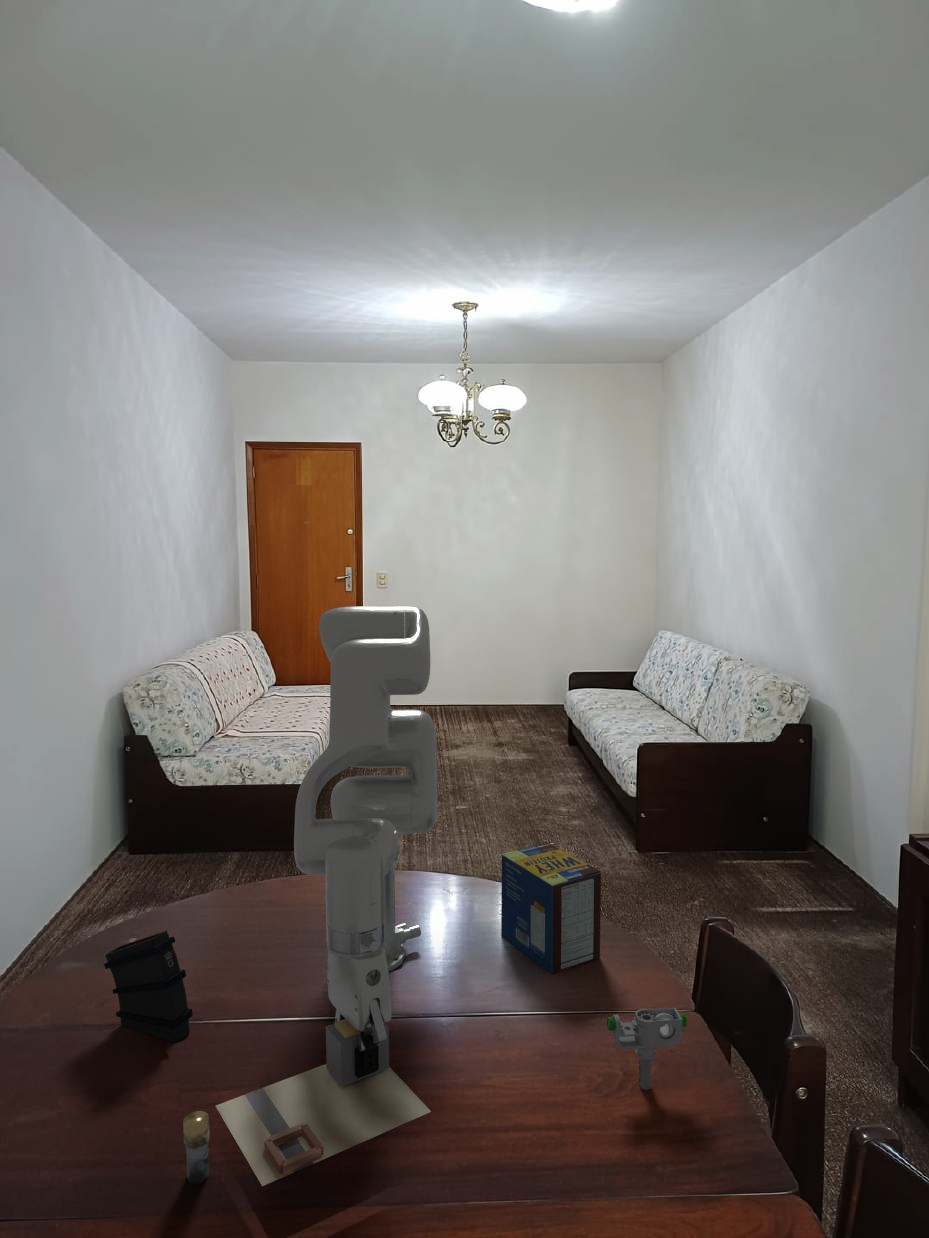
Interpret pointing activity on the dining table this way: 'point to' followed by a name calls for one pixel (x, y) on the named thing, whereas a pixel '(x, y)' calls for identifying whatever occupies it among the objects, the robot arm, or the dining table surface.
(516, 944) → the protein box
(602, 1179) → the dining table surface
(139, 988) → the magazine
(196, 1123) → the gold capped bottle
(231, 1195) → the dining table surface
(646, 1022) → the mechanical component
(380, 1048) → the grey boxy piece
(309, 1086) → the board
